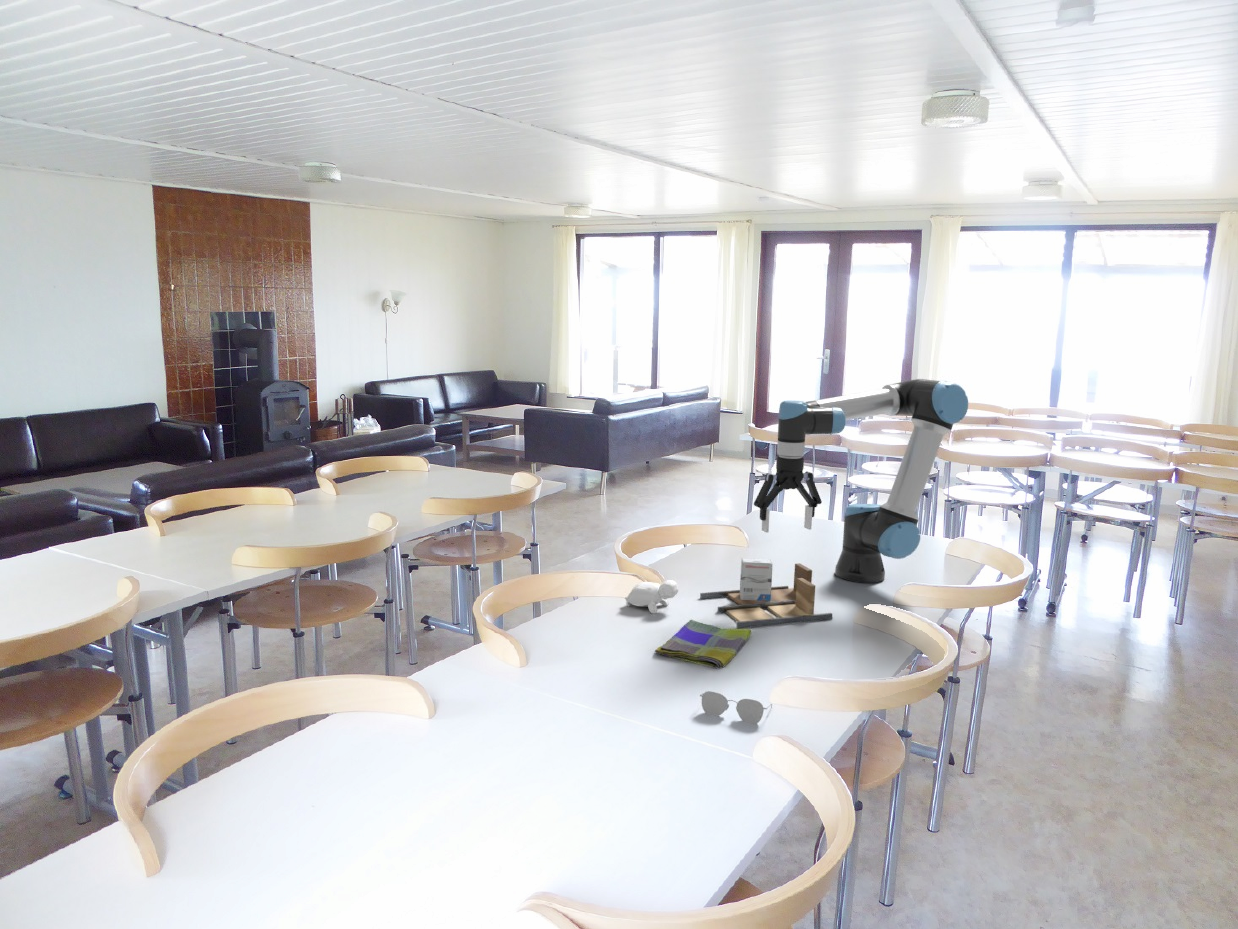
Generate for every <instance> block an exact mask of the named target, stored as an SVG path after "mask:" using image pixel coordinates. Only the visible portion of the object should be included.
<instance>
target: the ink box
mask: <svg viewBox="0 0 1238 929" xmlns="http://www.w3.org/2000/svg"><path fill="white" fill-rule="evenodd" d="M740 563H741V566H740V577H739V578H740V579H739V580H740V581H739V590H740V599H741V600H761V601H771V587H773V586H772V584H773V583H772V582H773V561H772V560H771V559H762V558H761V559H760V558H741V562H740Z"/></svg>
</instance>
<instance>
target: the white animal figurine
mask: <svg viewBox="0 0 1238 929" xmlns="http://www.w3.org/2000/svg"><path fill="white" fill-rule="evenodd" d="M678 592H679V586H678V583H677V582H676V581H675V580H672V579H668V580H665V581H663V582H662V583H661V584H660V583H658V582H651V581H641V582H639V583H638V584H636V585H635V586H633V588H632V589H631V590H630V592H629V593H628V595H627V596H625V598H624V599H625V601H626V602H625V603H626V606H628V608H629V607H630V605H633V606H636V607H644V608H645V607H648V610H649V612H650V613H651V614H652V615H656V614H657V613H658V607H657V605H658V604H661V605H662V606H665V607H668V606H669V601H668V600H667V599H673V598H675V596H677V595H678Z"/></svg>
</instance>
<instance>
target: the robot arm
mask: <svg viewBox="0 0 1238 929" xmlns="http://www.w3.org/2000/svg"><path fill="white" fill-rule="evenodd" d="M968 411H969V399H968V396H967V394H966V391H965V390H964V388H963V387H962V386H960V385H959V384H957V383H954V382H950V381H946V380H935V379H927V378H926V379H925V378H916V379H910V380H906V381H901V382H895V383H889V384H886V385H883V387H882V388H881V389H875V390H869V391H863V392H857V393H851V394H845V395H840V396H834V397H827V398H820V399H815V400H811V401H805V400H804V401H803V400H783V401H781V402H780V404H779V408H778V418H777V419H778V423H777V424H778V426H777V445H776V447H777V448H776V455H777V457H776V464H775V468H776V473H775V474H771V473H768V472H767V473H765V476H764V482H763V484H762V486H761V488H760V489H759V492H758V494H757V496H756V498H755V500H754V502H753V506H755V507H757V508H758V509H759V520H761V531H763V532H764V533H765V534H766V533H769V532H770V531H769V529H770V511H771V510H770V509H769V506H770V505H771V504H772V503H773V501H775V499H776V498H777V496H778V495H779V494H780V493H781V492H782V491H783V490H797V491H798V493H799V494H800V495H801V497H802V498H803V499H804V501H805V502H806V503H807V505H805V506H804V522H803V527H804V529H807V530H812V521H813V518H815V511H816V508H817V507H818V505H821V504H822V499H821V496H820V495H819V491H818V489H817V486H816V484H815V481H814V474H813V472H810V471H805V472H803V471H804V469H805V468H804V466H805V459H804V456H805V447H806V444H805V443H806V442H805V441H806V435H807V436H810V435H834V434H836V435H837V434H840V433H841V432H843V431H844V429H845V427H846V421H851V420H856V419H862V418H867V417H873V416H879V415H884V414H885V415H886V416H891V417H892V416H899V415H901V416H909V417H910V416H911V420H910V421H911V422H912V425H913V429H912V432H911V434H910V437H909V439H908V443H907V446H906V449H905V452H904V454H903V457H902V459H901V462H900V464H899V468H898V470H897V473H896V476H895V479H894V482H893V485H892V487H891V490H890V493H889V496H888V498H887V501H886V502H885V503H883V504H878V503H877V504H876V503H875V504H874V503H854V504H849V505H847V506H846V508H845V511H844V516H843V520H844V521H843V533H842V534H843V537H842V549H841V553H840V555H839V558H838V560H837V563H836V565H835V569H834V571H835V573H834V574H835V575H836V576H837V577H839V578H840V579H843V580H846V581H850V582H856V583H867V584H868V583H870V584H871V583H880V582H882V581H884V580H885V578H886V570H885V566H884V562H883V559H882V556H884V557H888V558H891V559H894V560H895V559H897V560H901V559H905V558H907V557H908V556H911V555H912V554H913V553H914V552H915V551H916V550H917V548H918V546H919V544H920V542H921V533H920V529H919V527H918V526H917V524H918V522H919V517H918V515H917V510H918V506H919V503H920V501H921V499H922V495H923V493H924V490H925V487H926V484H927V482H928V479H929V476H930V473H931V471H932V468H933V466H934V462H935V460H936V457H937V454H938V452H939V449H940V446H941V444H942V440H943V437H944V436H945V435H947V434H949V433H951V431H952V428H953V425H955V424H957V423H959V422H960V421H962V420H963V419H964V418H965V417H966V416H967V413H968ZM803 480H804V481H805V482H806V483H805V484H806V486H807V488H808V491H809V492H808V491H807V489H806V488H805V486H804V484H803V483H802V481H803ZM775 481H776V482H775ZM774 482H775V483H774ZM773 483H774V485H773ZM772 485H773V487H772ZM771 487H772V489H771Z"/></svg>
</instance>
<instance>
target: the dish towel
mask: <svg viewBox="0 0 1238 929" xmlns="http://www.w3.org/2000/svg"><path fill="white" fill-rule="evenodd" d="M751 634H752V630H751V629H749V628H723V627H718V626H715V625H712V624H707V623H703V622H701V621H696V620H694V619H689V621H687V622H686V623H685V624H684V625H682V627H681V628H679V630H678V631H676V633H674V635H672V637H671V638H669V639H668V640H667V641H666V642H665V643H663V644H662V645H661V646H659V647H657V648H656V649H654V653H657V654H659V655H661V656H664V657H669V658H673V659H677V660H681V661H686V662H689V663H693V664H697V665H702V666H704V667H710V668H713V669H722V668H724V667H725V666H726V665H727V664H729V663H730V662H731V660H732V659H734V657H736V656H737V655H738V653H739V652H740V651H741V650H742V648H743V646H744V645H745V644H746V643H747V641H748V640H749V637H750V636H751Z"/></svg>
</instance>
